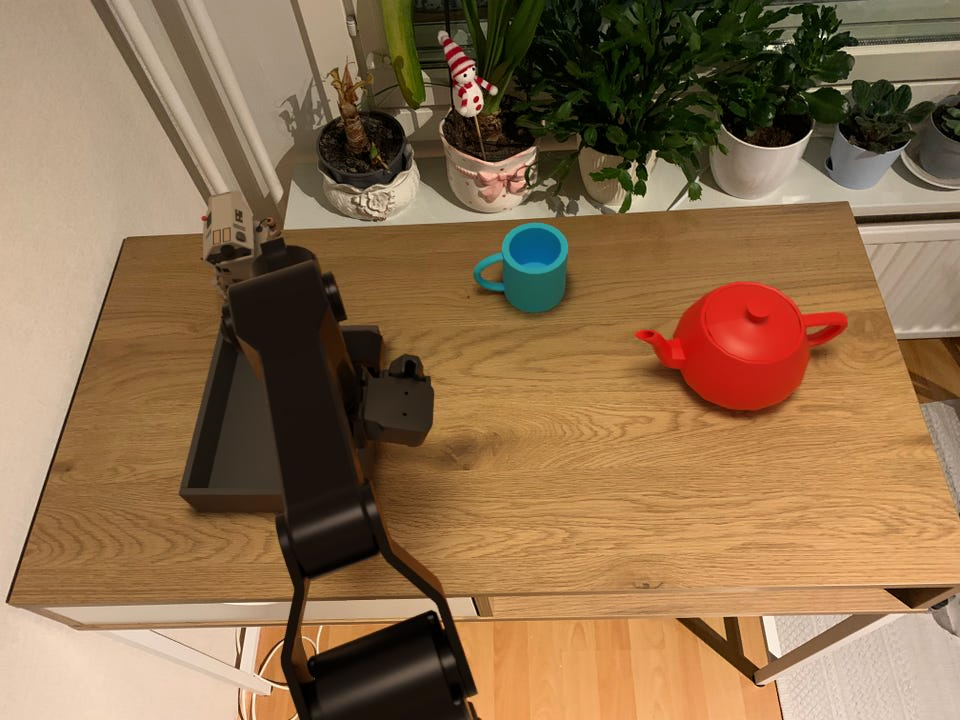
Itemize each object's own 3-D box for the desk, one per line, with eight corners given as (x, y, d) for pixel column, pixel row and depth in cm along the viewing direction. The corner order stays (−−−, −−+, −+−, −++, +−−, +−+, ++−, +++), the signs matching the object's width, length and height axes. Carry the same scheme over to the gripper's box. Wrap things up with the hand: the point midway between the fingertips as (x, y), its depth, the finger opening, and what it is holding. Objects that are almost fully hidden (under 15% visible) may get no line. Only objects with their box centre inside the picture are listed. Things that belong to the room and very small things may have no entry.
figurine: (218, 328, 95) (171, 255, 83) (237, 259, 101) (196, 182, 89) (286, 328, 95) (249, 255, 82) (301, 259, 101) (268, 181, 88)
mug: (560, 260, 98) (562, 219, 91) (569, 309, 94) (573, 270, 87) (472, 269, 98) (468, 229, 91) (477, 319, 94) (474, 281, 87)
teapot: (804, 301, 93) (840, 239, 82) (849, 408, 85) (895, 354, 74) (611, 324, 93) (622, 264, 82) (638, 434, 84) (654, 383, 74)
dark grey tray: (368, 512, 81) (359, 494, 76) (198, 512, 82) (178, 494, 78) (385, 349, 92) (378, 324, 88) (235, 350, 93) (219, 326, 89)
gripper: (414, 493, 52) (437, 558, 65) (427, 287, 62) (445, 379, 75) (262, 494, 53) (316, 558, 66) (299, 290, 63) (339, 381, 76)
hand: (359, 463), depth 71 cm, fingers open, 9 cm apart
